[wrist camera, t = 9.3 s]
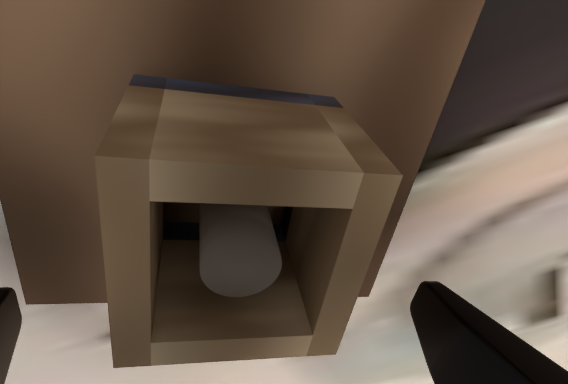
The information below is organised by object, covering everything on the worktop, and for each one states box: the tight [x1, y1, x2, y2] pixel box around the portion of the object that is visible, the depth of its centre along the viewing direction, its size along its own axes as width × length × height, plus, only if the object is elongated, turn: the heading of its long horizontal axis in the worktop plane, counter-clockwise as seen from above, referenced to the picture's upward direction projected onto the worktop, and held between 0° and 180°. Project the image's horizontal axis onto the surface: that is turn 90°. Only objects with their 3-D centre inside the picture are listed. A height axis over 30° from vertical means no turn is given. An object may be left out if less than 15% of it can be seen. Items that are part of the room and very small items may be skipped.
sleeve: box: [95, 74, 403, 368], centre depth 11 cm, size 6×6×5 cm
